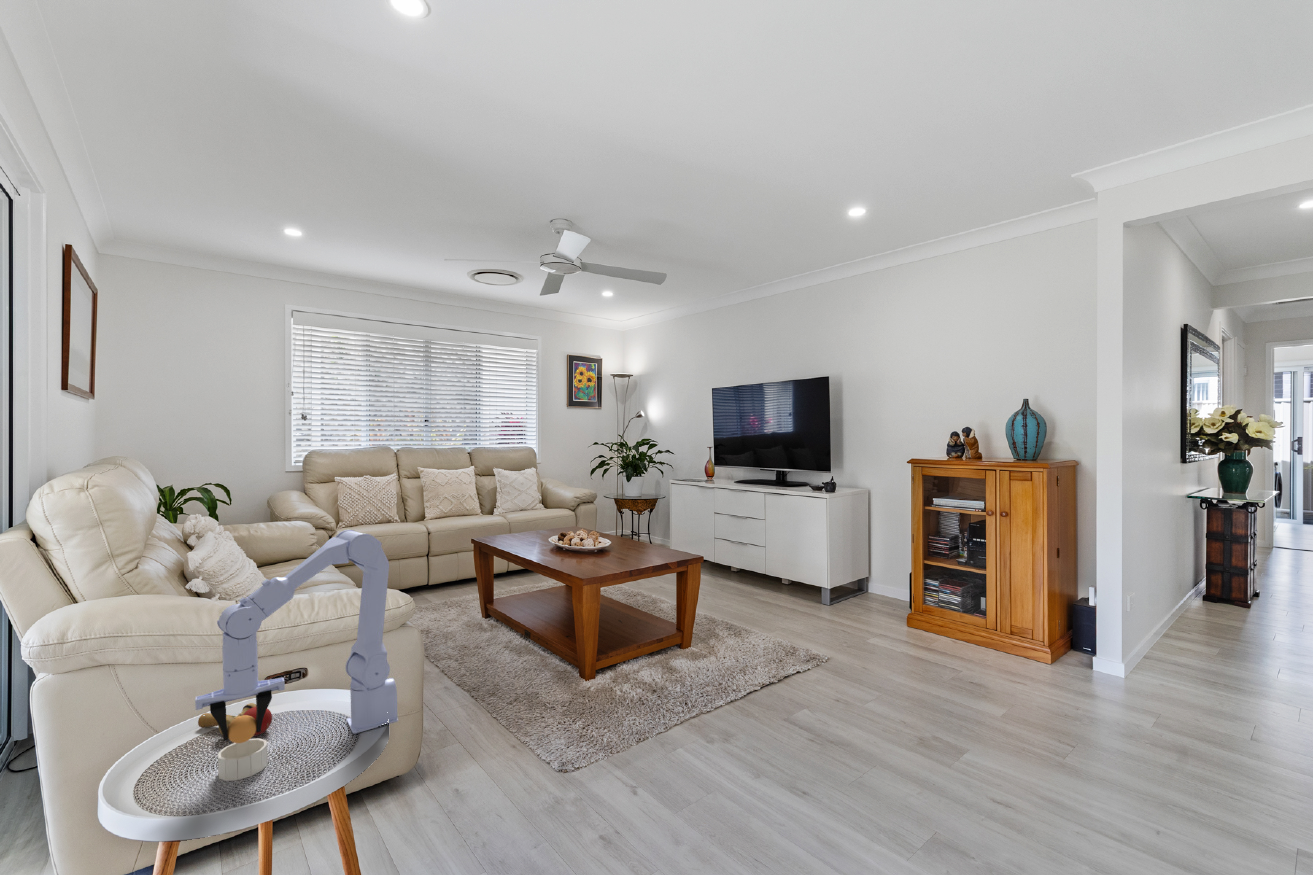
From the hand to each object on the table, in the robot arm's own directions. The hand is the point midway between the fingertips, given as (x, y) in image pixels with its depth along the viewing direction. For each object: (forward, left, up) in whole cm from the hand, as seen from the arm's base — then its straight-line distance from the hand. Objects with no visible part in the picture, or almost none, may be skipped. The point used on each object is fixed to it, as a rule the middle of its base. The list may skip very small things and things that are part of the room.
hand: (242, 734), depth 121 cm
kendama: (+1, -20, -7) cm, 21 cm away
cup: (0, 0, -7) cm, 7 cm away
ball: (0, 0, +1) cm, 1 cm away
